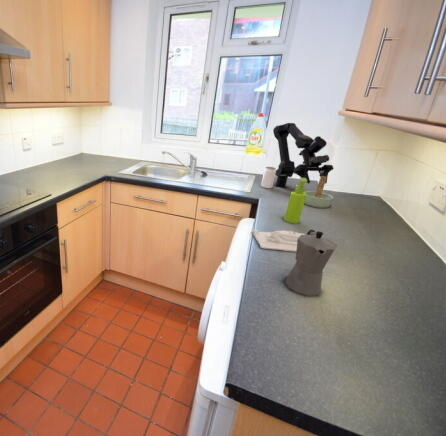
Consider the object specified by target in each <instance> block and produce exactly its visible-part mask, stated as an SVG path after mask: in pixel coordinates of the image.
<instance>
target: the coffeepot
mask: <svg viewBox="0 0 446 436" xmlns="http://www.w3.org/2000/svg"><path fill="white" fill-rule="evenodd" d="M323 235H324V232H323V231H315V230H314V229H309V230H308V232H307V234H305V235H301V236H300V237H299V238H298V241H297V250H296V252H295V260H296V261H295V263H294V265H293V266H292V268H291V270H290V272H289V273H288V276H287V277H286V280H285V281H284V283H285V285H286V286H287V287H288V288H289V289H290V290H291V291H293V292H295V293H296V294H299V295H303V296H308V297H314V296H318V295H319V294H320V292H321V289H322V282H323V273H324V272H323V270H324V269H325V267H326V265H327V264H328V262H329V260H330V258H331V256H332V255H333V253H334V251H335V250H336V248H337V247H338V245H337V244H336V243H335V242H333V241H332V240H330V239H329V238H326V237H323Z"/></svg>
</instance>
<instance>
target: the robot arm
mask: <svg viewBox="0 0 446 436" xmlns="http://www.w3.org/2000/svg"><path fill="white" fill-rule="evenodd" d="M272 132H273V136H274V138H275V139H276V140H277V144H278V153H279V160H280V162H279V164H278V168H276V174H275V177H277V178H276V181H275V182H274V186H275V187H279V188H287V182H288V179H289V178H292V177H293V175H296V176H298V177H299V178H300V177H302V178H306V179H307V182H306V183H307V184H311V179H310V176H309V172H318V174H319V178H320V177H321V176H325V177H327V178H326V181H325V185H326V184H327V183H328V177H329V173H330V172H331V171H333V170H334V169H335V167H334V165H332V164H325V163H327V162H329V161H330V156H329V155H328V154H324V155H316V154H317V153H319V152H320V151H321V150H322V149H324V148H325V147H326V146H327V141H326V140H325V139H324V138H322V137H321V136H319V135H318V136H316V137H314V138H312V137H310V136H309V135H306V134H304V133H303V132H302V130H300V128H299V127H298V126H297V125H296V123H294V122H286V123H284V124H279V125H276V126H275V127H274V128H273V130H272ZM289 135H290V136H291V137H292V138H293V139H294V140H295V142H294V144H295V146H296V148H297V149H302V150H300V151H299V153H298V156H301V157H302V159H303V161H302V163H299V164H298V165H297V166H295V161H292V160H291V158H290V151H289V143H288V137H289ZM322 164H324V165H322Z"/></svg>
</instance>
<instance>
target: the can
mask: <svg viewBox="0 0 446 436" xmlns="http://www.w3.org/2000/svg"><path fill="white" fill-rule="evenodd" d="M276 170H277V168H276V167H273V166H265V168H264V170H263V176H262V178H261V184H260V187H261V188H264V189H272V188H273V185H274V183H275V182H274V181H275V179H276V176H275V174H276Z"/></svg>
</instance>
